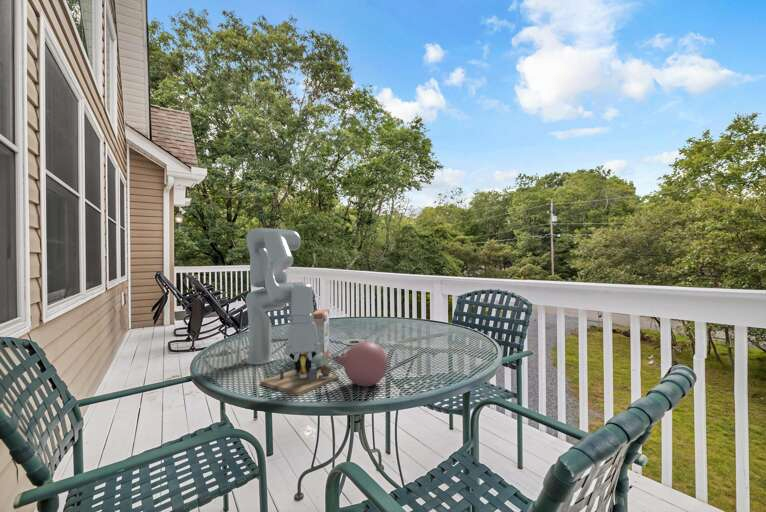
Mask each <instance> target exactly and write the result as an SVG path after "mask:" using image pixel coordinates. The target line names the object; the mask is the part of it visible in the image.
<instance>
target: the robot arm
mask: <svg viewBox="0 0 766 512" xmlns="http://www.w3.org/2000/svg"><path fill="white" fill-rule="evenodd" d="M301 244H302V240H301V236H300V234H299V233H298V232H297V231H296V230H292V229H287V228H268V227H260V228H259V227H255V228H252V229H249V230H248V232H247V233H246V245H247V249H248V253H249V257H250V259H249V282H250V285H251V286H252V287H254V288H265V289H258V290H256V289H255V290H251V291H250V292H248V293H247V295H246V296H245V304H246V311H247V318H248V351H247V350H246V351H245V354H246V355H247V356H248V357H247V358H245V364H247V365H253V366H255V365H256V366H257V365H266V364H270V363H272V362H275V360H276V356H275V355H273V354H272V321H271V319H270V316H269V315H267V313H266V312H269V311H277V310H282V309H284V308H285V306H286V304H290V313H291V314H290V315H289V316H286V321H289V322H290V323H289V324H288V331H287V345H286V347H285V349H284V351H283V355H285V356H286V357H290V358H291V359H292V360H293V361H294V369H295V370H297V373H299V353H306V352H308V357H307V372H310V370H309V369H311V360H312V358H313V357H314V356H315V355H316V354H318V353H319V352H321V351H322V350H321V348H320V346H319V344H318V339H317V328H316V323H315V322H313V313H314V302H313V301H314V299H313V298H314V296H313V294H314V292H313V290H314V289H313V285H311V284H310V283H304V282H302V281H297V282H295V281H293V282H288V276H287V271H286V270H287V269H289V268H290V267H291V266H293V264H294V257H293V254H292V251H295V252H296V251H297V250H299V249H300V248H301Z"/></svg>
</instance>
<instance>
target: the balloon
mask: <svg viewBox="0 0 766 512" xmlns="http://www.w3.org/2000/svg"><path fill="white" fill-rule="evenodd" d="M331 360H333V361H334V362H335V363H336V364H338V365H342V366H343V368H344V372H345V374H346V376H347V378H348V379H349V380H350V382H352V383H353V384H355V385H357V386H359V387H370V386H371V387H372V386H374V385H376V384H378V383H379V382H380V381H381V380H382V379H383V378H384V377H385V375H386V372H387V369H388V359H387V354H386V353H385V351H384V350H383V348H382V347H381V346H380V345H378V344H377V343H374V342H372V341H364V340H363V341H360V342H356V343H355V344H353V345H352V346H351V347H349V349H348V350H346V351H345V352H343V353H341V354H336V355H334V356H332V357H331Z"/></svg>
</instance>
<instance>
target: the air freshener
mask: <svg viewBox="0 0 766 512" xmlns="http://www.w3.org/2000/svg"><path fill="white" fill-rule="evenodd" d="M318 344H319V346H320V343H319V342H318ZM306 353H307V357H308V352H306ZM326 359H327V356H325V354H323V353H321V352H319V353H318V354H316V355H315V356H314V357H313V358H312V360H311V364H315V365H316V368H317V369H321V367H322V366H323V365H324V364H326Z"/></svg>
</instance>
